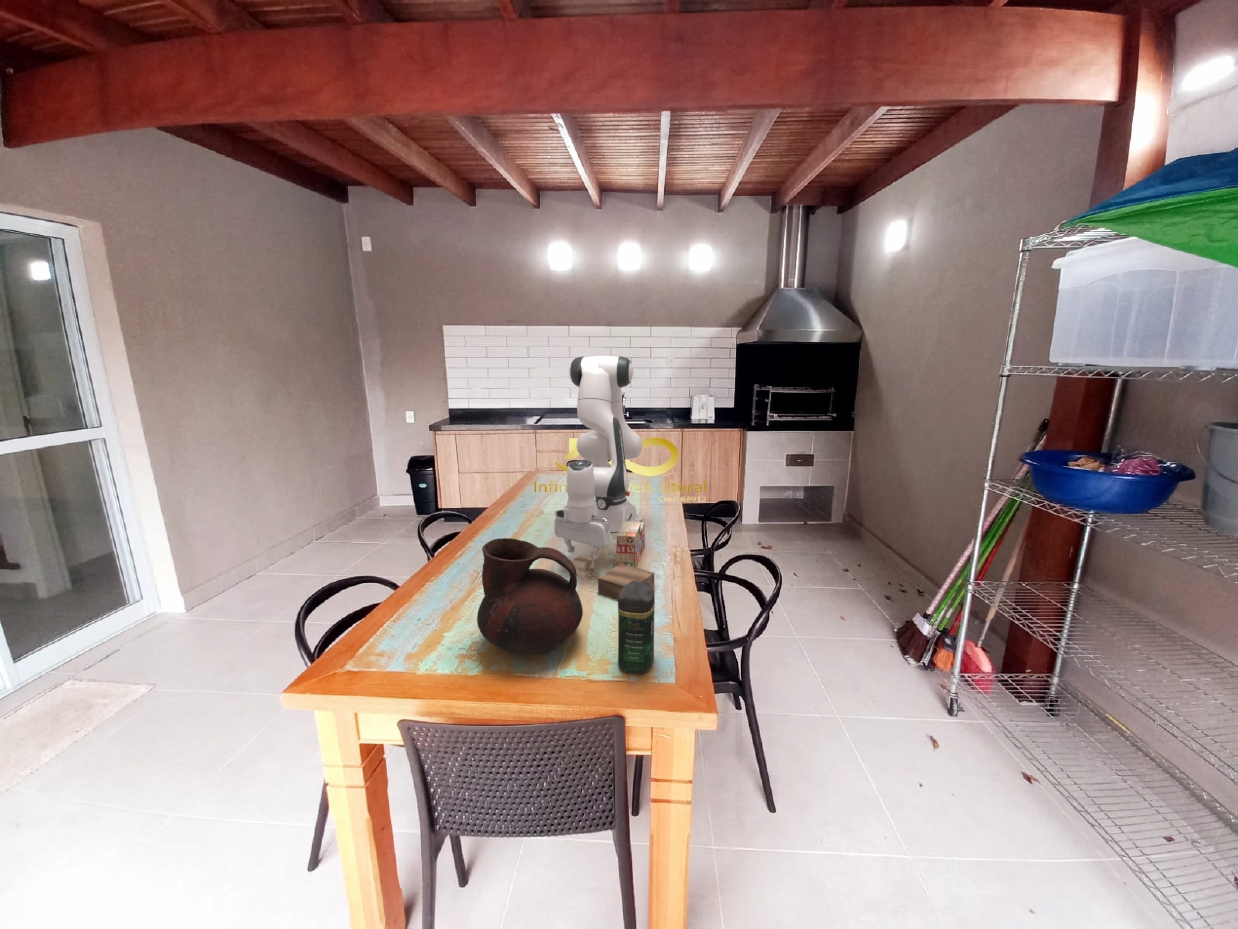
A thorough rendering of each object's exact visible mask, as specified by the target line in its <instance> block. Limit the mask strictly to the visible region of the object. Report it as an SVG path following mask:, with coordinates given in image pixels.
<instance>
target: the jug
mask: <svg viewBox="0 0 1238 929" xmlns="http://www.w3.org/2000/svg"><path fill="white" fill-rule="evenodd" d="M481 551H482V555H483V564H482V569H481V570H482V573H481V583H482V588H483V594H484V596H483V598H482V600H481V603H480V604H479V606H478V610H477V616H476V617H477V619H476V623H477V628H478V629H479V632H480V634H481V635H482V636H483V638H484V639H485V640H486V641H488V642H489V643H490V644H492V645H494V646H495V647H497V648H499V649H501V650H503V651H506V652H509V653H512V654H519V655H520V654H521V655H533V654H534V655H535V654H539V653H540V654H541V653H544V652H549V651H550V650H553V649H555V648H557V647H559V646H560V645H562V644H564V643H565V642H566V641H568V639H570V638H571V636H572V635H573V634H574V633H575V632H576V631H577V629H578V628H579V625H580V624H581V623H582V622H581V621H582V619H583V614H584V612H583V611H584V610H583V605H582V602H581V601H582V600H581V598H580V595H579V593H578V591H577V586H578V576H577V574H576V568H575V566H574V564H573V563H572V560H571V559H570V558H569V557H568V556H567V555H565V554H564V553H563V552H561V551H560V550H557V549H555V548H553V547H544V546H543V547H542V546H541V547H538V546H536V545H535V544H533V543H531V542H529V541H526V540H520V539H517V538H510V537H509V538H508V537H502V538H494V539H491V540H490V541H488V542H486V543H485V544H484V545H483V546H482V548H481ZM540 559H546V560H551V561H553V562H555V563H557V564H559V566H561V567H562V568H563V569H564V570H566V572H568V574H569V580H568V579H566V578H565V577H564V576H562V575H561V574H559V573H557V572H554V571H551V570H548V569H544V568H531V567H532V565H533V563H534V562H535V561H538V560H540Z"/></svg>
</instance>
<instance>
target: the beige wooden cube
mask: <svg viewBox="0 0 1238 929" xmlns="http://www.w3.org/2000/svg"><path fill="white" fill-rule="evenodd" d="M571 561H572V563H573V564H574V566H575V568H576V574H577V578H581V579H584V578H585V579H586V578H589V577H590V576H592V575H593V574H594V573H595V559H593V558H591V556H590V557H589V556H586V555H582V554H581V555H580V556H578V557H576V558H573V559H572V560H571ZM589 575H590V576H589Z"/></svg>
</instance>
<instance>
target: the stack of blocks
mask: <svg viewBox="0 0 1238 929" xmlns="http://www.w3.org/2000/svg"><path fill="white" fill-rule="evenodd" d="M615 538H616V542H615V543H616V545H615V546H616V547H615V548H616V566H618V565H619V564H625V565H628V566H632V567H635V568H638V566H639V563H640V560H641V557H642V553H643V551H644V548H645V543H646V542H645V540H646V533H645V522H643V521H641V522H623V524H622V526H621V528H620V530H619V532H616V537H615Z"/></svg>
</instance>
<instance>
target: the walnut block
mask: <svg viewBox="0 0 1238 929" xmlns="http://www.w3.org/2000/svg"><path fill="white" fill-rule="evenodd" d="M631 581H639V582H646V583H649V584H650V585H651V586H652V587H653V589H654V590H655V572H652V571H650V570H646V569H642V568H638V567H636V568H635V567H632V566H628V565H625V564H619V565H618V566H617V565H616V566H614V567H613V568H611V569H610V570H608V571H607V572H605V573H604V574H601V575H600V576H599V577H597V593H598V595H601V596H604V597H607V598H610V599H613V600H616V601H618V596H619V594H620V592H621V590H622V588H623V587H624V586H625V585H626V584H628V583H630V582H631Z"/></svg>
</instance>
